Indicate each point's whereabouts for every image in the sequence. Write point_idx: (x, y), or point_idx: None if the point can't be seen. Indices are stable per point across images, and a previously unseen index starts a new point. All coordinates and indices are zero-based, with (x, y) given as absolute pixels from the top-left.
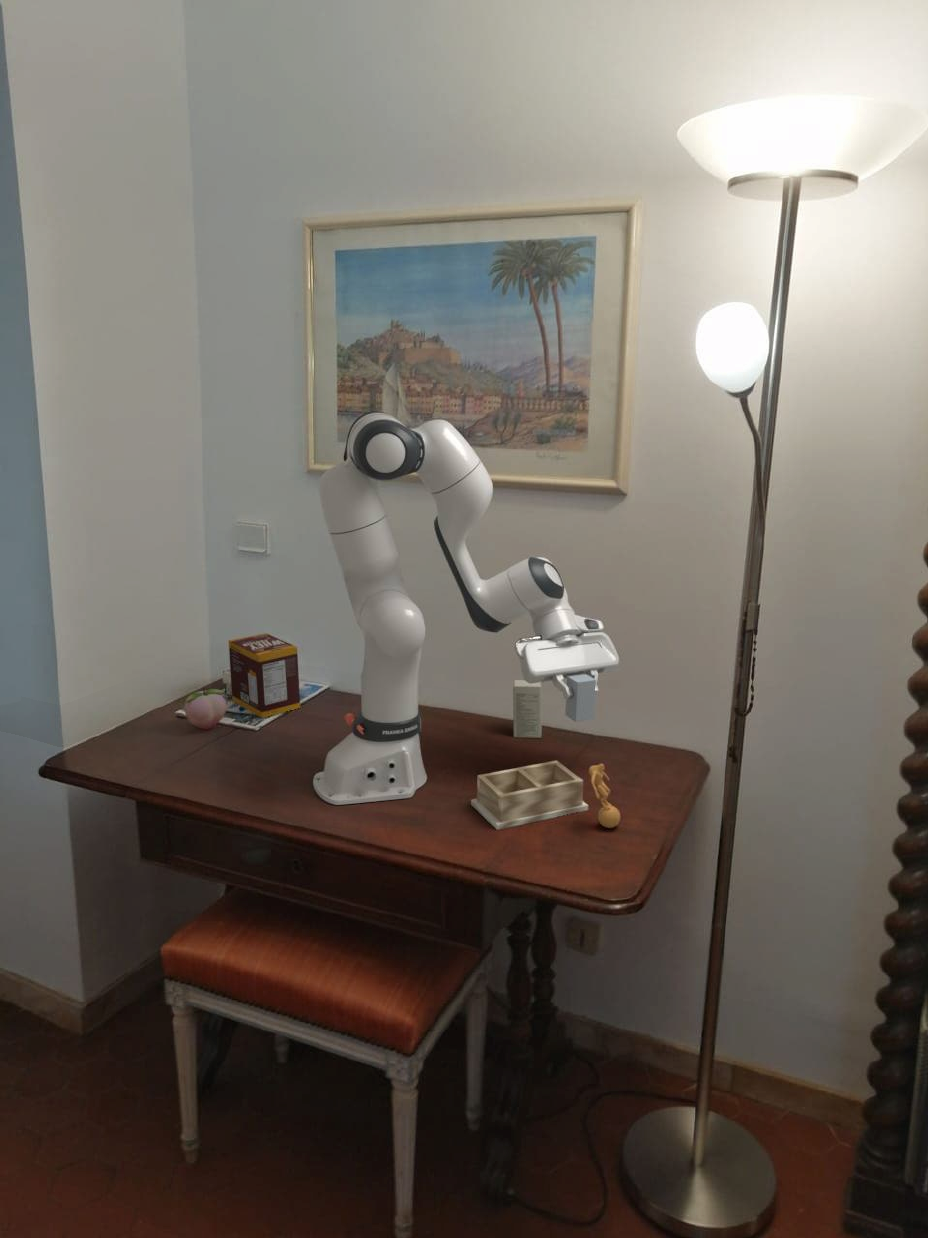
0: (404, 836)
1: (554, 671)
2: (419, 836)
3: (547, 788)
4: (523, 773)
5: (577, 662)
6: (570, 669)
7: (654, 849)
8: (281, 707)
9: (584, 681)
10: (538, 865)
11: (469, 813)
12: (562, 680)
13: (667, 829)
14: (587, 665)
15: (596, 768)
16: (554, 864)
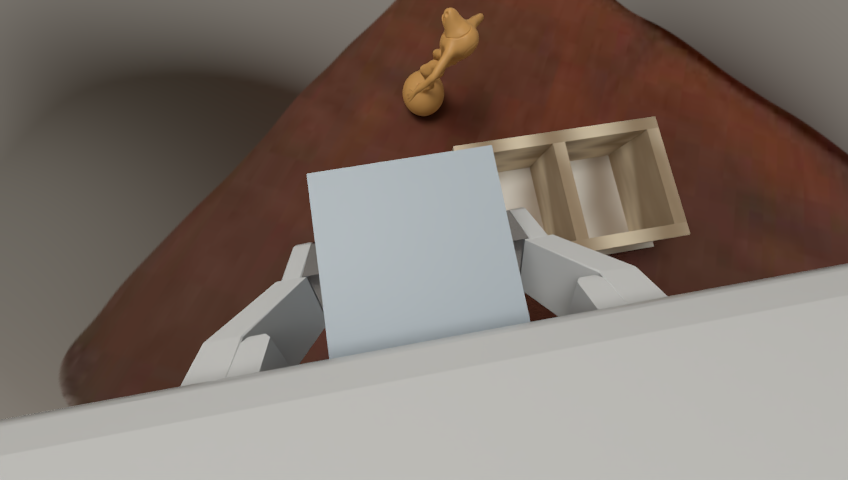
0: (774, 161)
1: (748, 295)
2: (749, 155)
3: (544, 133)
4: (579, 217)
5: (407, 450)
6: (530, 333)
7: (381, 22)
8: None
9: (424, 158)
10: (576, 25)
11: None
12: (575, 294)
13: (327, 72)
14: (264, 403)
15: (464, 20)
16: (551, 22)
